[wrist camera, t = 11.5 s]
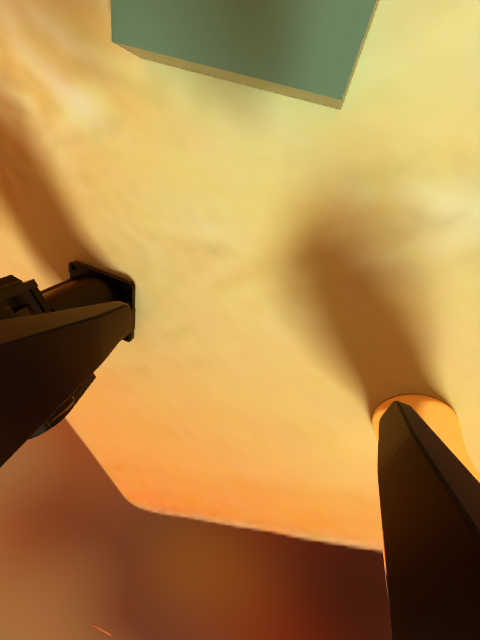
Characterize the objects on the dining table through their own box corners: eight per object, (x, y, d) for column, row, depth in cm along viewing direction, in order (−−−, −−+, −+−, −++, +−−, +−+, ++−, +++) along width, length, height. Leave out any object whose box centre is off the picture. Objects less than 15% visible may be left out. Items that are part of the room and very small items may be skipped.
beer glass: (349, 406, 23) (367, 680, 11) (438, 376, 20) (616, 735, 7) (392, 458, 25) (450, 755, 12) (481, 439, 21) (693, 832, 9)
